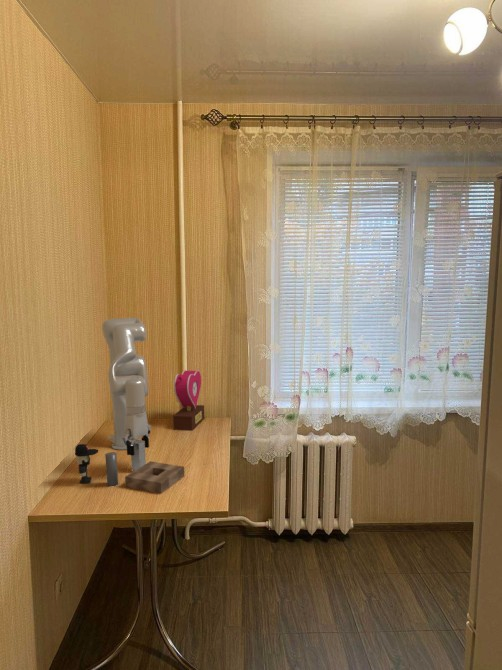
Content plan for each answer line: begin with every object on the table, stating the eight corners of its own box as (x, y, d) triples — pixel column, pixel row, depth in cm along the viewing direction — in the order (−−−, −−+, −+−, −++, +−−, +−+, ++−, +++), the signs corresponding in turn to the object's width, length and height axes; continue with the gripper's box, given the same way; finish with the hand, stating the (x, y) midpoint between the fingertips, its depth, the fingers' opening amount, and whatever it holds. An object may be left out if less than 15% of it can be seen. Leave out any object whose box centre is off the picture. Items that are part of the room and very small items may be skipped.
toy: (99, 484, 180) (96, 446, 178) (75, 486, 178) (72, 448, 176) (100, 476, 187) (98, 439, 185) (78, 478, 185) (75, 441, 183)
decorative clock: (190, 432, 239) (188, 374, 235) (171, 431, 241) (168, 374, 237) (204, 418, 263) (203, 365, 259) (187, 417, 265) (185, 365, 261)
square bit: (131, 471, 191) (130, 442, 190) (138, 467, 195) (136, 439, 194) (140, 472, 190) (138, 443, 188) (146, 468, 193) (144, 440, 192)
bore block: (125, 486, 177) (125, 476, 176) (150, 470, 191) (150, 461, 191) (161, 493, 170) (161, 483, 170) (184, 476, 185) (184, 466, 185)
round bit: (105, 485, 178) (103, 455, 177) (112, 481, 182) (110, 451, 180) (113, 487, 176) (111, 456, 175) (120, 483, 180) (118, 452, 179)
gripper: (141, 404, 199) (143, 443, 200) (114, 414, 183) (117, 457, 184) (156, 405, 196) (158, 445, 197) (130, 415, 180) (132, 459, 181)
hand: (138, 451), depth 191 cm, fingers open, 9 cm apart
